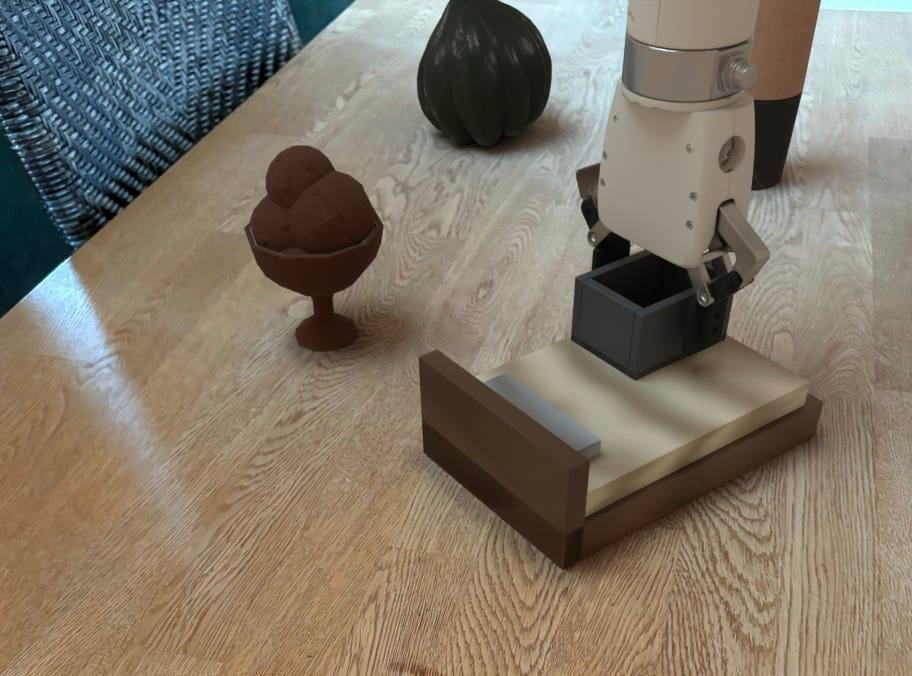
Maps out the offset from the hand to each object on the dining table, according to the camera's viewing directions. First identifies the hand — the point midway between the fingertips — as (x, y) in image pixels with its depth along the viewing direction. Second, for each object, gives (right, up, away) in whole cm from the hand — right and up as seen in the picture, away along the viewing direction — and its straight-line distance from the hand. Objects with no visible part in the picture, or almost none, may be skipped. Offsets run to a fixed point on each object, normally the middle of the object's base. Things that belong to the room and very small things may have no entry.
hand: (652, 320), depth 74 cm
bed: (-2, -9, +1) cm, 9 cm away
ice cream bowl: (-25, +3, +13) cm, 28 cm away
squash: (-10, +35, +42) cm, 56 cm away
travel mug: (+17, +25, +32) cm, 44 cm away
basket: (0, -1, +1) cm, 2 cm away
